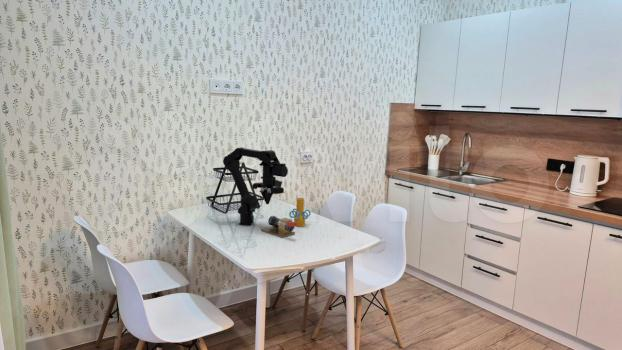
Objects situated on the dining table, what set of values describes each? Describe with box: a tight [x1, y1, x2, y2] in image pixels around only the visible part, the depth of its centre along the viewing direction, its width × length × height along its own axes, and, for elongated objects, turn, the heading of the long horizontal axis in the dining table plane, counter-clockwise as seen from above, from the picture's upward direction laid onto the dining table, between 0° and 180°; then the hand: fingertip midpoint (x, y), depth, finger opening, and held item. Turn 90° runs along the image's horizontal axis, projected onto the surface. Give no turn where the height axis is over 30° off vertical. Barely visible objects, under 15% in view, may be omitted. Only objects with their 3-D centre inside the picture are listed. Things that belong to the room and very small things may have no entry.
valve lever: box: [277, 221, 297, 228], centre depth 214 cm, size 2×2×12 cm
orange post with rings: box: [288, 197, 311, 228], centre depth 235 cm, size 12×10×15 cm
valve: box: [260, 215, 296, 239], centre depth 221 cm, size 16×9×7 cm, turn 48°
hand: (267, 204), depth 227 cm, fingers closed
